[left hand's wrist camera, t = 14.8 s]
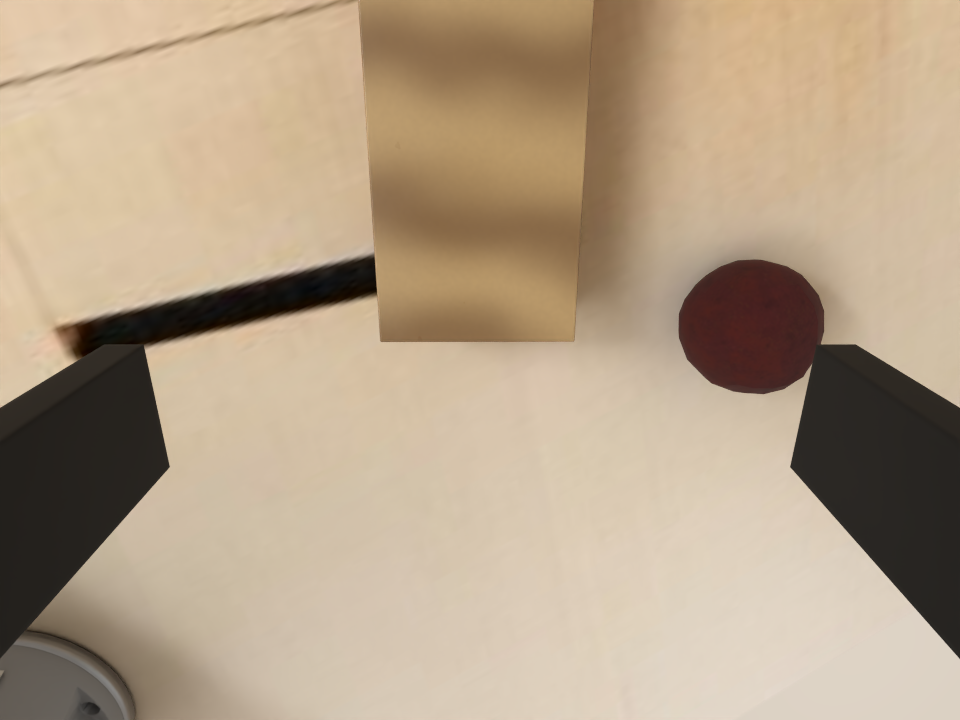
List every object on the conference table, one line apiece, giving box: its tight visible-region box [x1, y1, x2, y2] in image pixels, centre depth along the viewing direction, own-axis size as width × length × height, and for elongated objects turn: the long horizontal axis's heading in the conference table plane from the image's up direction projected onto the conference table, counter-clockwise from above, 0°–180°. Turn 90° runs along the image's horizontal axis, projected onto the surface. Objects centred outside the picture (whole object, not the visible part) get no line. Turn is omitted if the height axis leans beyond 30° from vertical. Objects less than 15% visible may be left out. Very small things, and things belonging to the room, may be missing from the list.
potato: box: [679, 260, 824, 394], centre depth 35 cm, size 7×8×7 cm
